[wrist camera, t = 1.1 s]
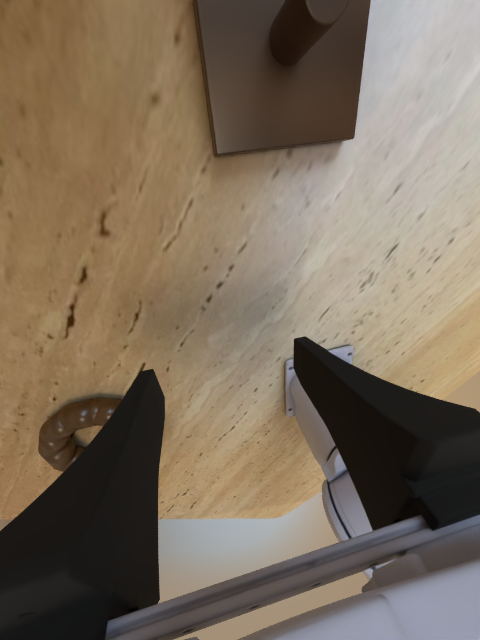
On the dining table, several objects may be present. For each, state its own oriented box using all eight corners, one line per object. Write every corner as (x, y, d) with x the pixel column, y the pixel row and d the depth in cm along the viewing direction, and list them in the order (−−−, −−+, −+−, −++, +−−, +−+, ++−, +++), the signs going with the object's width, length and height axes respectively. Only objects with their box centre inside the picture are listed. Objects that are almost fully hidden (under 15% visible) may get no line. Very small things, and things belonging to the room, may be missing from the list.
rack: (343, 141, 16) (404, 126, 12) (214, 157, 15) (227, 147, 11) (367, -93, 11) (485, -267, 7) (179, -95, 10) (177, -303, 6)
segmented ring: (171, 443, 28) (170, 463, 26) (78, 468, 27) (69, 491, 25) (141, 381, 23) (137, 401, 21) (21, 409, 21) (5, 433, 19)
